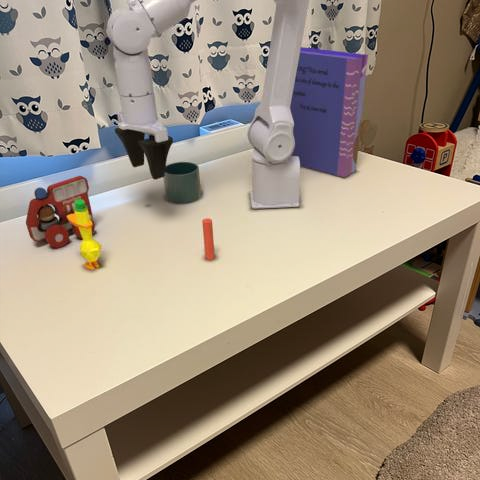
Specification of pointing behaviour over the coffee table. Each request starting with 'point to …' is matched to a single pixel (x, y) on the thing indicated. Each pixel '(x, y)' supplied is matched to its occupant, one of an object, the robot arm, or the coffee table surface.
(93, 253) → the toy figure
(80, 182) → the toy fire truck
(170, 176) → the can
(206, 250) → the red cylinder
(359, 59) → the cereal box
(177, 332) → the coffee table surface
